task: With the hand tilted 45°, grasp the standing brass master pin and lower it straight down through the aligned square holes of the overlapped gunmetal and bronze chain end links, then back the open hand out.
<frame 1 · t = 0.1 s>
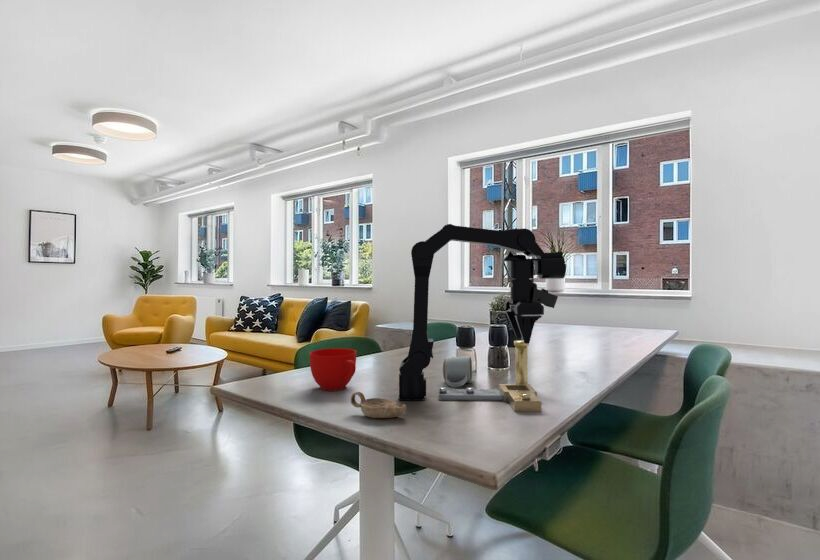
hand: (522, 340, 110), 15 cm above the table, tool pointing down, fingers open, 9 cm apart
oil lamp: (377, 417, 96), on the table
ceramic mug: (458, 383, 126), on the table
ceramic cup: (337, 389, 120), on the table
chain end b: (517, 397, 111), on the table
chain end a: (517, 397, 111), on the table
master pin: (521, 388, 120), on the table
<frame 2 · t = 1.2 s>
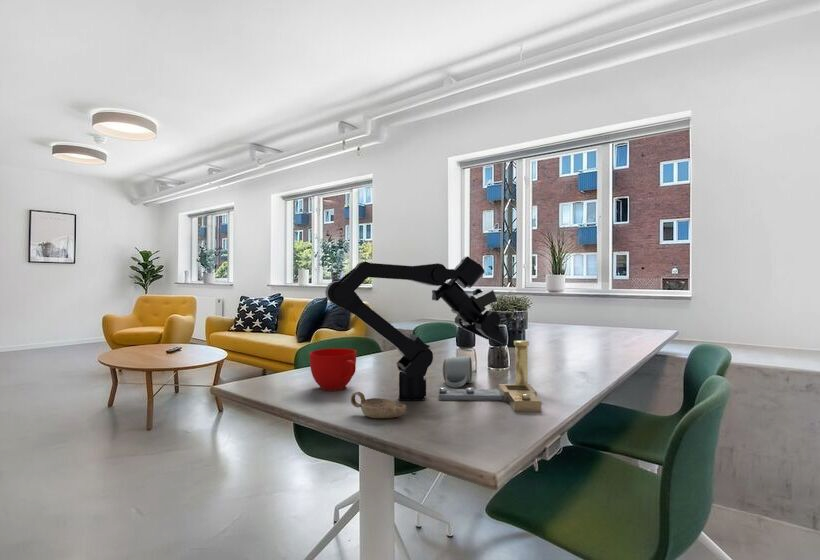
hand: (496, 340, 118), 14 cm above the table, tool tilted 45°, fingers open, 9 cm apart
nothing on the table moved.
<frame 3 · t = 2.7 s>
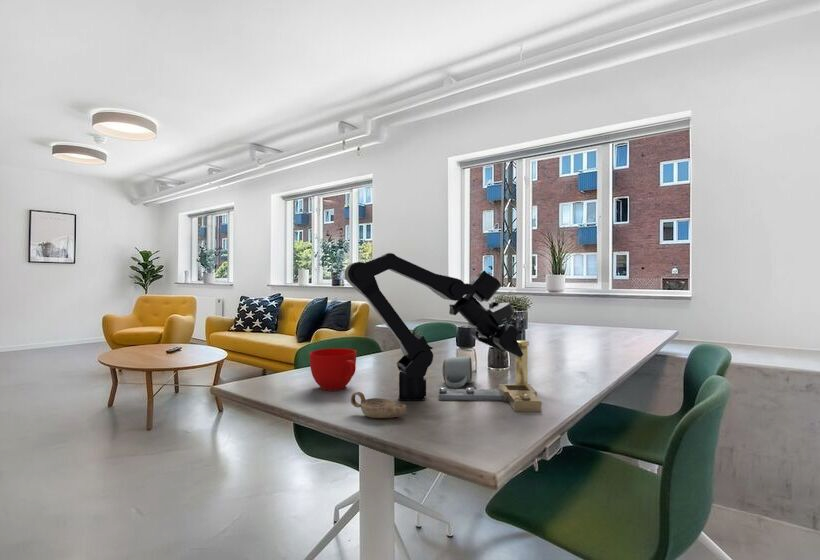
hand: (513, 353, 119), 10 cm above the table, tool tilted 45°, fingers open, 9 cm apart
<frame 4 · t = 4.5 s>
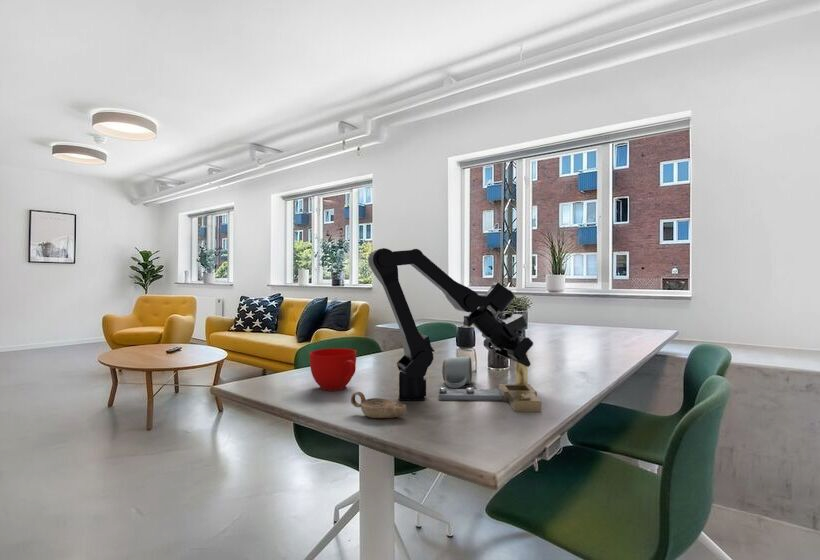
hand: (525, 364, 120), 7 cm above the table, tool tilted 45°, fingers closed on master pin, 3 cm apart
master pin: (521, 388, 120), on the table, touching gripper
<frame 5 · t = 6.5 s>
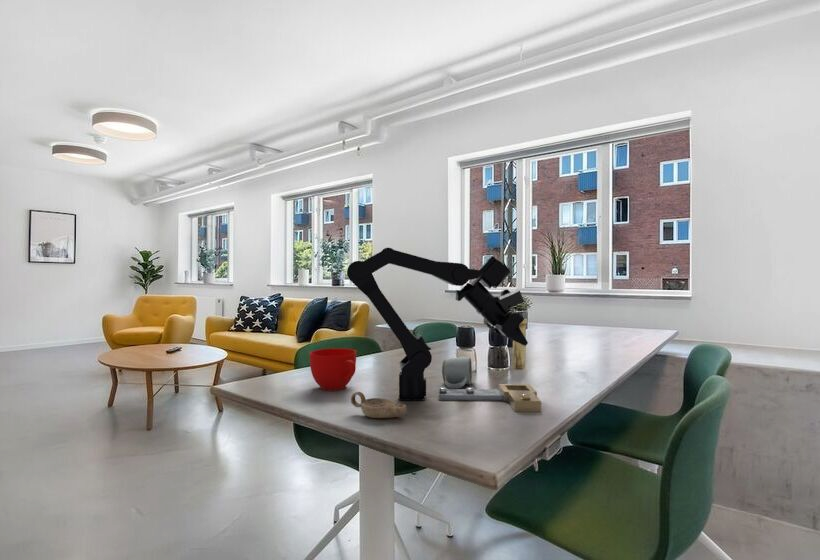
hand: (524, 343, 113), 13 cm above the table, tool tilted 45°, fingers closed on master pin, 3 cm apart
master pin: (519, 368, 113), point 7 cm above the table, touching gripper
when the fingers open (8 cm above the table, at t = 8.4 s): master pin drops 1 cm, resting in chain end a.
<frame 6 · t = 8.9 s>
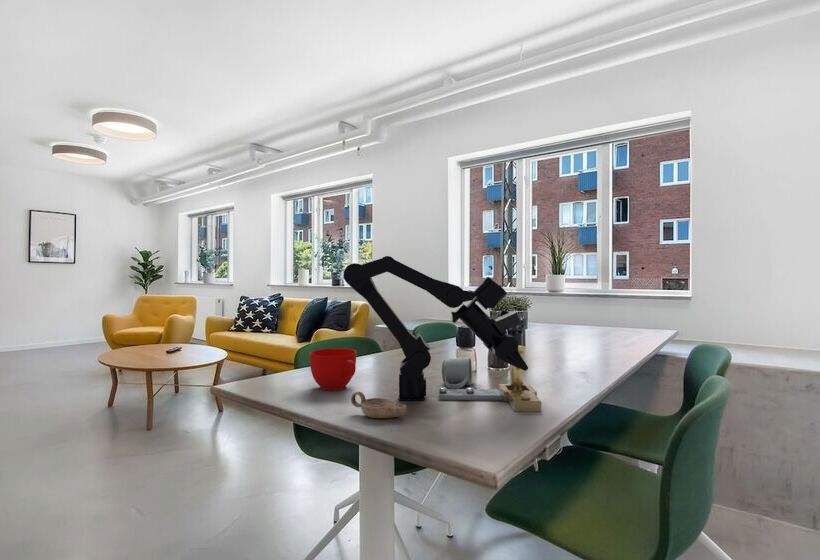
hand: (522, 365, 111), 8 cm above the table, tool tilted 45°, fingers open, 9 cm apart
master pin: (517, 397, 111), resting in chain end a
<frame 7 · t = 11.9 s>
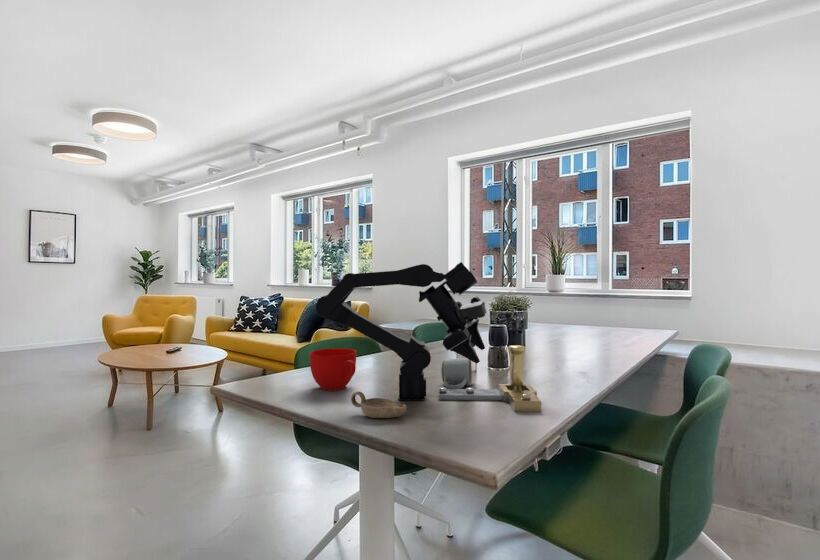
hand: (481, 355, 111), 11 cm above the table, tool tilted 35°, fingers open, 9 cm apart
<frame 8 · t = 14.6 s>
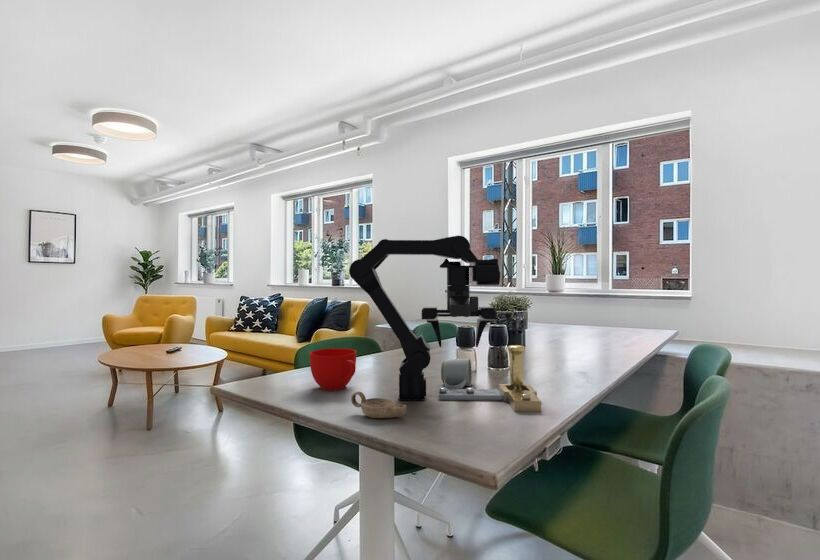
hand: (458, 346, 111), 13 cm above the table, tool pointing down, fingers open, 9 cm apart
at the end: master pin 0.0 cm off-centre on the chain end a, point 0.0 cm above the chain end a's base; master pin tilted 1°; the gripper is holding nothing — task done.
